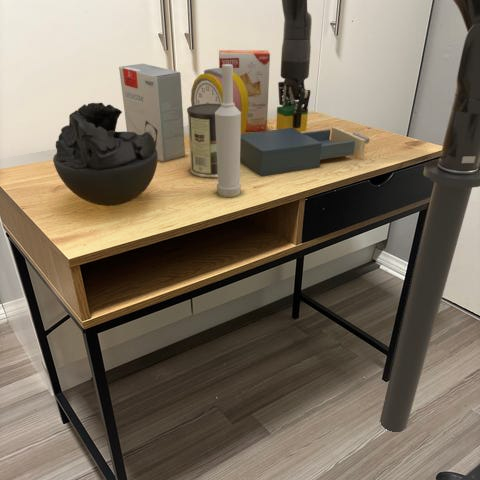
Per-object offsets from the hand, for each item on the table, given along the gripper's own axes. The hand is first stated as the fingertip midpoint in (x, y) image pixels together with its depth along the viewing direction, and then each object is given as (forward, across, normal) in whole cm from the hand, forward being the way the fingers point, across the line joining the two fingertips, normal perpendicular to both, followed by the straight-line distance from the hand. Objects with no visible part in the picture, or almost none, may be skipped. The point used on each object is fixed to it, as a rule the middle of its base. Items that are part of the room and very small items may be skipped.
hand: (291, 125), depth 143 cm
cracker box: (+4, +13, +9) cm, 16 cm away
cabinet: (+3, -18, +14) cm, 23 cm away
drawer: (+2, -18, -2) cm, 18 cm away
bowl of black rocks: (+4, -27, +57) cm, 63 cm away
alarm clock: (+4, +5, +20) cm, 21 cm away
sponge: (+1, 0, 0) cm, 1 cm away
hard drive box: (+4, +2, +39) cm, 39 cm away
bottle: (+3, -32, +33) cm, 46 cm away
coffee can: (+4, -17, +31) cm, 36 cm away
